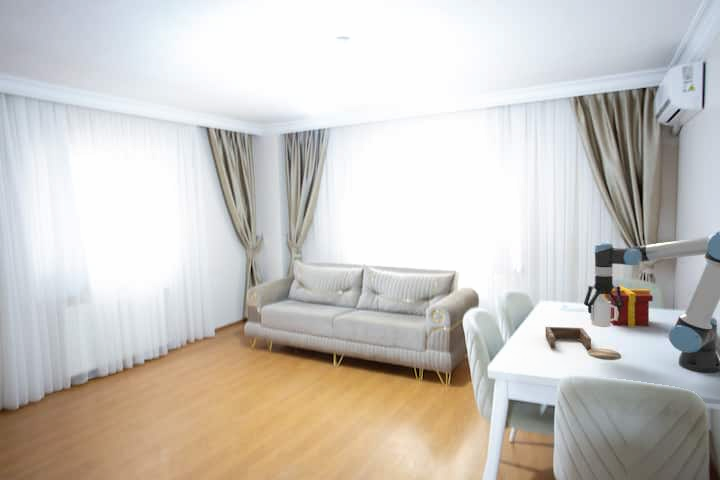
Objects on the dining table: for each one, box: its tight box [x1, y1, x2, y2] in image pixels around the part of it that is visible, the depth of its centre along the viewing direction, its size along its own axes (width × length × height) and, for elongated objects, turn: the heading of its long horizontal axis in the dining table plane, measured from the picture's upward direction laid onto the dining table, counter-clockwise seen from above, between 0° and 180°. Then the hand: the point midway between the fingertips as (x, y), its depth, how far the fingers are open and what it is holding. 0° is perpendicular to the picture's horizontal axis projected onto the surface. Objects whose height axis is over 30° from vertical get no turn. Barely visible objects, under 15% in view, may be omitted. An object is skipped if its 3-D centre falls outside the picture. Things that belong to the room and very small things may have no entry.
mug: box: [590, 298, 619, 328], centre depth 217 cm, size 12×8×12 cm
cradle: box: [545, 326, 592, 351], centre depth 238 cm, size 20×19×6 cm
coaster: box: [587, 347, 621, 360], centre depth 218 cm, size 14×14×1 cm
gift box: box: [602, 285, 654, 328], centre depth 274 cm, size 25×25×20 cm
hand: (603, 319), depth 217 cm, fingers closed on mug, 10 cm apart
